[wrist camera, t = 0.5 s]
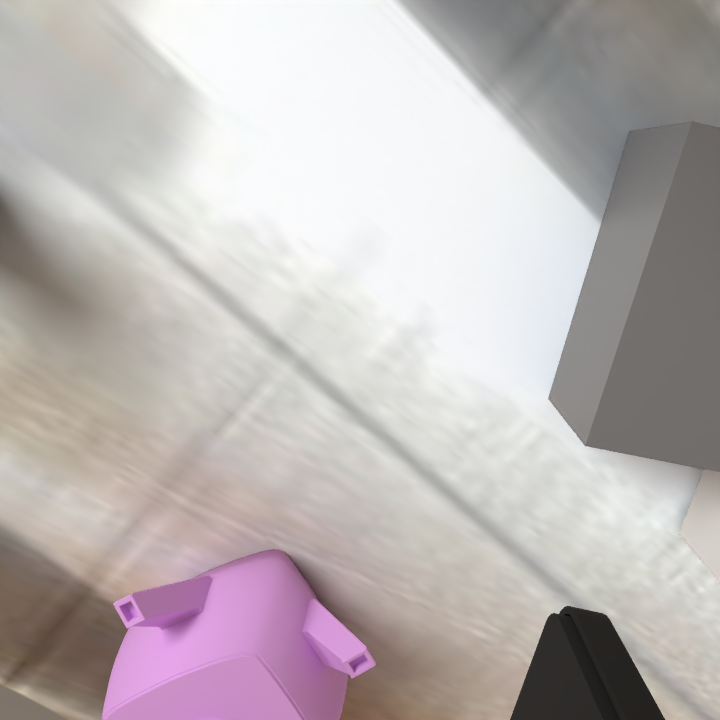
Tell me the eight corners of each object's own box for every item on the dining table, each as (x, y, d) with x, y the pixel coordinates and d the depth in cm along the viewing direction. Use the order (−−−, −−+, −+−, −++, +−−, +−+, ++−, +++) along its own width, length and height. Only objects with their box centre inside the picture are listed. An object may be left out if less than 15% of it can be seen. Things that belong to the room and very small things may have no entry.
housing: (629, 131, 40) (691, 121, 32) (813, 171, 40) (917, 171, 32) (548, 398, 45) (585, 445, 37) (712, 431, 45) (782, 484, 38)
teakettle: (121, 687, 53) (49, 837, 41) (160, 510, 48) (92, 622, 36) (321, 734, 54) (307, 894, 42) (378, 566, 49) (382, 693, 37)
